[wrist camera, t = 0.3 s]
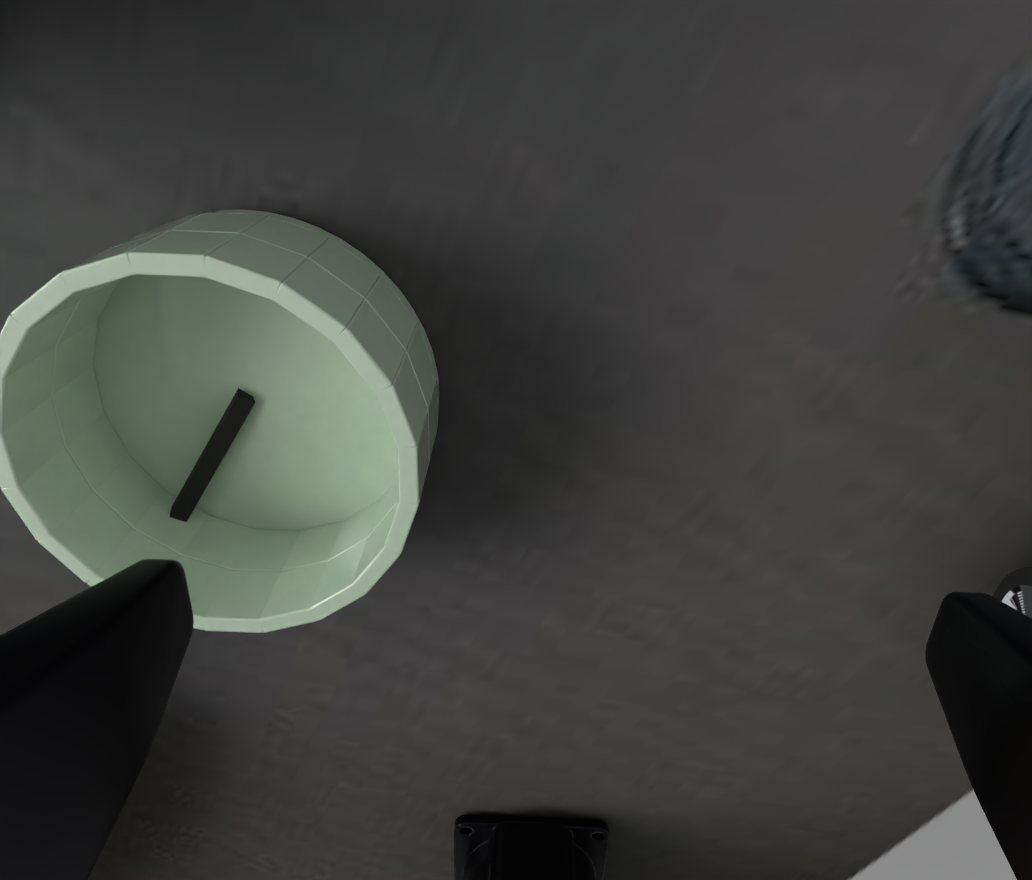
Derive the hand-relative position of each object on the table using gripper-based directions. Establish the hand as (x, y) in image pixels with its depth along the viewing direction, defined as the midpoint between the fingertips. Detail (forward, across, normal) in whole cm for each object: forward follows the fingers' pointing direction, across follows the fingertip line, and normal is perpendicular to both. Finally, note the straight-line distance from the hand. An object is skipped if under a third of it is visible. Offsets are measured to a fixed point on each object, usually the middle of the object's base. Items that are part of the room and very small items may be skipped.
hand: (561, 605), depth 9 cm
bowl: (+14, +8, +4) cm, 17 cm away
